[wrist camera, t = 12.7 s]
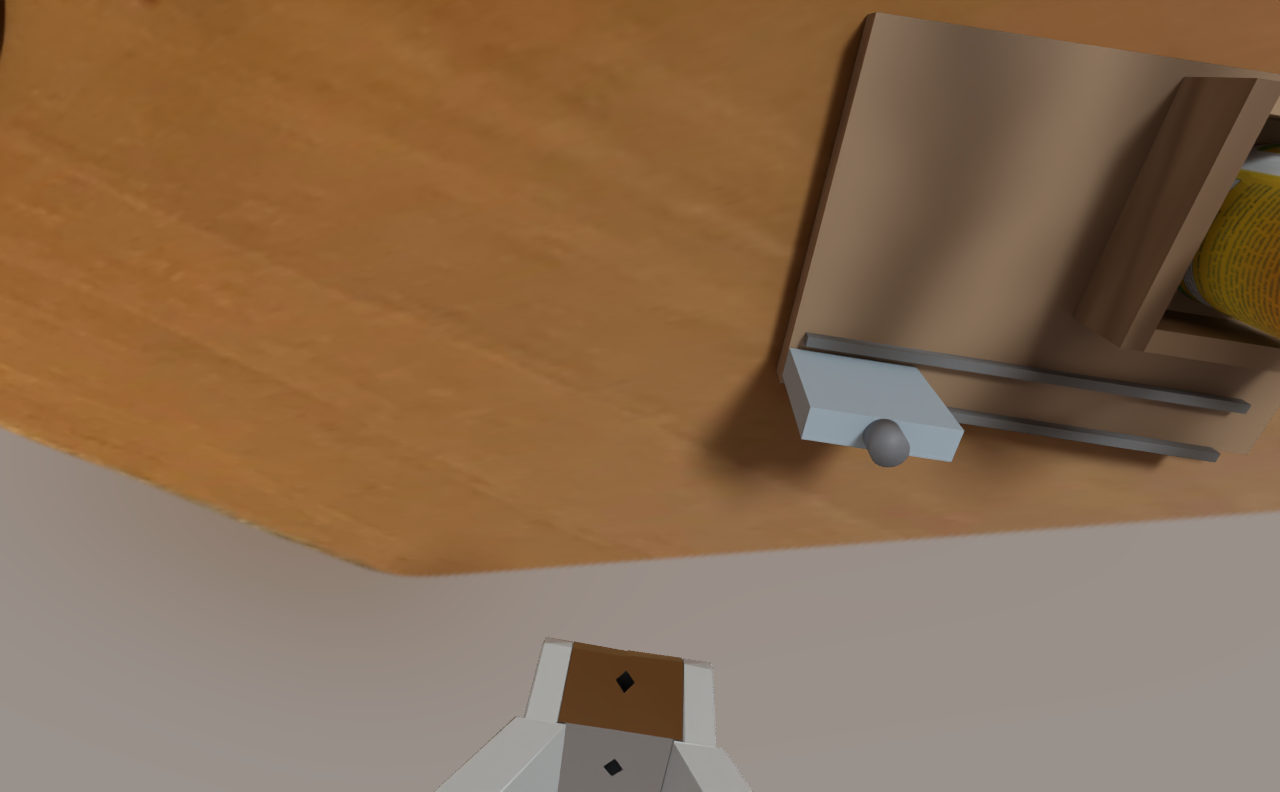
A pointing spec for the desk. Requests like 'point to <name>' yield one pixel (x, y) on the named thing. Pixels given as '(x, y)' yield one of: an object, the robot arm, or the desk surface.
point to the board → (1041, 235)
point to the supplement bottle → (1243, 247)
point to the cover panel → (869, 407)
